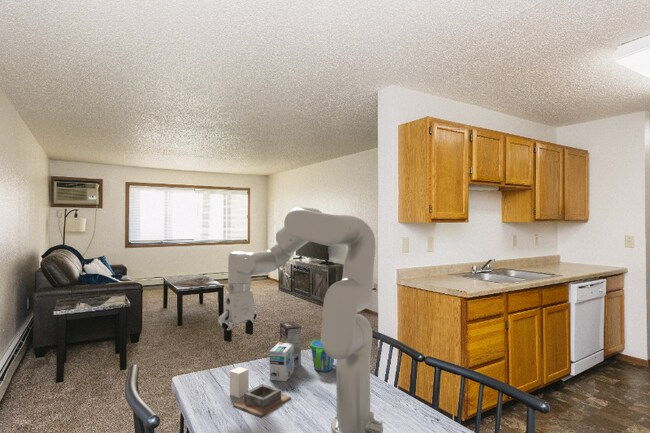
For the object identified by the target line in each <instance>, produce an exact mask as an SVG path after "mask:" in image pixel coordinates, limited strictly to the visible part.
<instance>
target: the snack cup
mask: <svg viewBox="0 0 650 433" xmlns="http://www.w3.org/2000/svg"><path fill="white" fill-rule="evenodd" d="M309 347H310V350H311V355H312V356H311V357H312V361H313V362H312V363H313V367H314V370H316V371H318V372H321V373H323V372H330V371H331V370H333V367H334V362H335V359H333V358H331V357H329V356H328V355H327V354H326V353H325V351H324V349H323V347H322V343H321V338H320V339H315V340H312V341H311V342H310V345H309Z"/></svg>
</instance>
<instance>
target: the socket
mask: <svg viewBox="0 0 650 433" xmlns="http://www.w3.org/2000/svg"><path fill="white" fill-rule="evenodd" d="M291 397H292V396H290V395H287V394H284V393H282V389H279V388H276V387H273V386H270V385H266V384H264V383H261V384H259V385H258V386H256V387H253V388H251V389H250V390H248V392H246V393H244V396H243V399H241V400H239V401H237V402H235V403H234V404H233V407H234V408H237V409H240V410H242V411H244V412H247V413H248V414H249V413H250V414H253V415H255V416H257V417H260V418H262V417H263V416H265V415H267V414H269V413H270V412H272V411H273V410H275V409H276V408H279V407H280V406H281V405H283V404H285V403H286V402H288V401H289V400H291V399H292V398H291Z"/></svg>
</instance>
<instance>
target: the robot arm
mask: <svg viewBox="0 0 650 433" xmlns="http://www.w3.org/2000/svg"><path fill="white" fill-rule="evenodd" d="M283 221H284V222H283V224H284V226H283V227H281V228H280V229H278V231H277V232H276V233H275V242H276V244H275V245H273V247H271V248H269V249H267V250H261V251H253V252H252V251H251V252H248V251H242V250H241V251H232V252H229V254H228V261H227V262H228V267H227V269H228V270H227V281H228V282H227V286H226V288H225V289H226V291H227V292H226V295H225V301H224V312H223V313H221V315H220V316H218V317H217V321H218V324H219V326H220V327H221V329H222V330H223V341H224V342H227V343H231V342H232V340H233V339H232V338H233V337H232V336H233V333H232V332H233V329H231V328H232V327H233V325H235V324H240V323H243V322H245V329H244V330H245V334H246V335H250V336H252V335H253V334H254V323H255V321H256V320H255V319H256V318H257V314H258V311H259V308H257V307H255V301H254V300H255V299H254V294H253V290H252V289H251V279H252V278H251V276H256V275H261V274H268V273H271V272H274V271H276V270H278V269H279V268H281V267H282V266H284V265H285V264H286V263H288V262H289V261H290V260H291V258H292V257H293V256H294V254H295V252H296V251H298V250H299V249H301V248H302V247H303V246H305V245H306V244H307V243H309V242H311V243H315V244H318V245H323V246H329V247H337V246H347V250H346V254H345V257H344V258H343V259H344V260H343V270H342V271H343V272H342V277H341V280H339V281H336V282H334V283H332V284H331V285H330V286H329V287H328V288H327V291H326V292H325V295H324V298H323V306H322V316H321V317H322V318H321V330H320V339H321V343H322V347H323V349H324V351H325V353H326V354H327V355H328V356H329V357H331V358H333V359H334V360H336V370H335V371H336V372H335V374H336V376H335V377H336V384H335V385H336V386H335V387H336V388H335V389H336V416H335V417H334V418H333V419H332V420H331V422H330V429H331V432H332V433H383V431H384V426H383V421H382V420H377V419H376V418H375V414H374V412H373V411H371V353H372V343H373V328H372V325H371V322H370V321H369V319H368V318H367V317H365V316H364V315H362V314H360V312H362V311H364V310H365V309H367V308H368V307H369V305H370V303H371V301H372V297H373V296H372V294H373V283H374V268H375V257H376V256H375V255H376V237H375V234H374V231H373V229H372V228H371V227H370V226H369V224H368V223H366V222H365V221H364V220H363V219H361V218H359V217H356V216H353V215H346V214H344V215H343V214H328V213H324V212H322V211H321V210H319V209H316V208H311V207H309V208H308V207H294V208H292V209H291V210H289V211H288V212H287V214H286V215H285V218H284V220H283Z"/></svg>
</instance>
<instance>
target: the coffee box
mask: <svg viewBox="0 0 650 433" xmlns="http://www.w3.org/2000/svg"><path fill="white" fill-rule="evenodd" d="M279 333H280V334H279V339H280V341H279V343H292V344H294V368H296V367H300V366H302V326H300V325H299V324H298V323H296V322H295V321H284V322H283V321H282V322H280V323H279Z"/></svg>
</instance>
